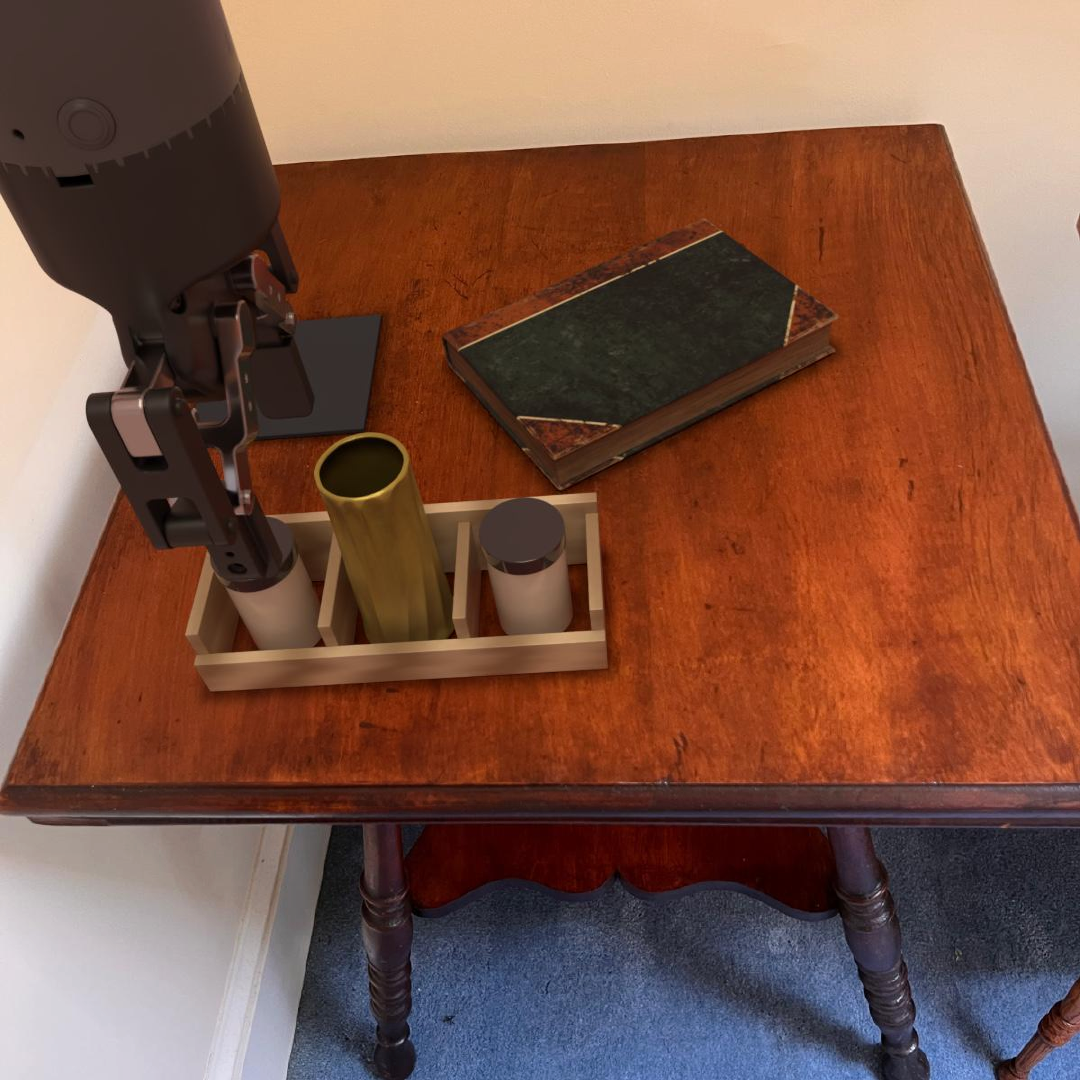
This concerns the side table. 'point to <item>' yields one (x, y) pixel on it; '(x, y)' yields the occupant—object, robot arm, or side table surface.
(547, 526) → the spice jar right
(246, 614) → the spice jar left
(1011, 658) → the side table surface
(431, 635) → the vase
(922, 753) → the side table surface
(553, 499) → the rack
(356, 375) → the mat
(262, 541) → the robot arm
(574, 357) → the book
